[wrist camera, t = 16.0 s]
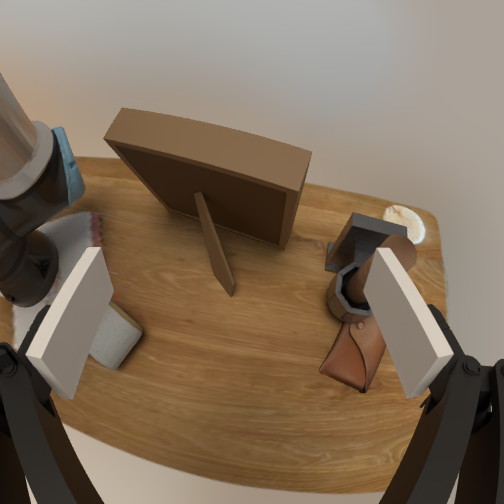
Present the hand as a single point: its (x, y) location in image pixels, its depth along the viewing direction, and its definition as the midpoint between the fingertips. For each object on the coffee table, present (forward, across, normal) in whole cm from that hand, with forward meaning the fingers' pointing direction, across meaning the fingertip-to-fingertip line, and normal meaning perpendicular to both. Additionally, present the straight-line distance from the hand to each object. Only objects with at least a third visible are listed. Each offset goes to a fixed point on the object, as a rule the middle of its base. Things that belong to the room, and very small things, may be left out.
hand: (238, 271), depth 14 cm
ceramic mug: (+18, -20, -27) cm, 38 cm away
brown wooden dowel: (+20, +16, -20) cm, 33 cm away
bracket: (+25, +18, -22) cm, 38 cm away
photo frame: (+31, -4, -19) cm, 37 cm away
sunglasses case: (+18, +19, -27) cm, 38 cm away
